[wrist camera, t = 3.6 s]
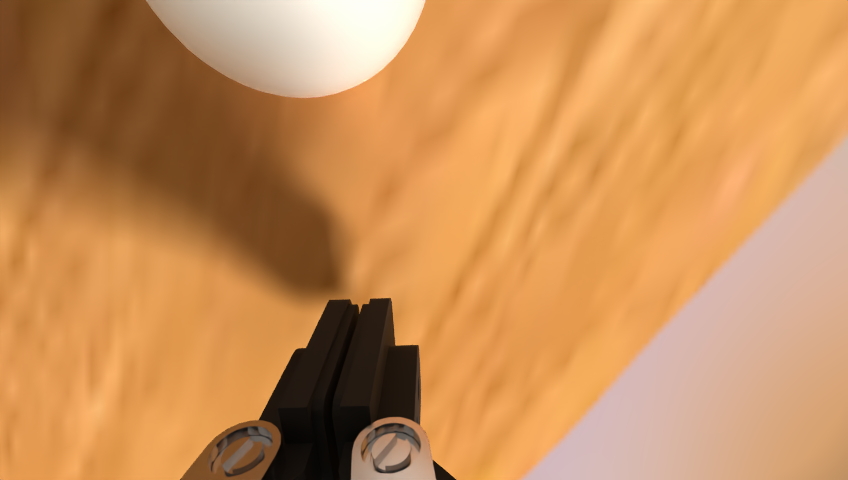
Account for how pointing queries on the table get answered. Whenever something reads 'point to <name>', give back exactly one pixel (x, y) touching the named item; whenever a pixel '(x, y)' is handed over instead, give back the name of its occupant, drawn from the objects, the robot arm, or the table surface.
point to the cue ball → (292, 40)
